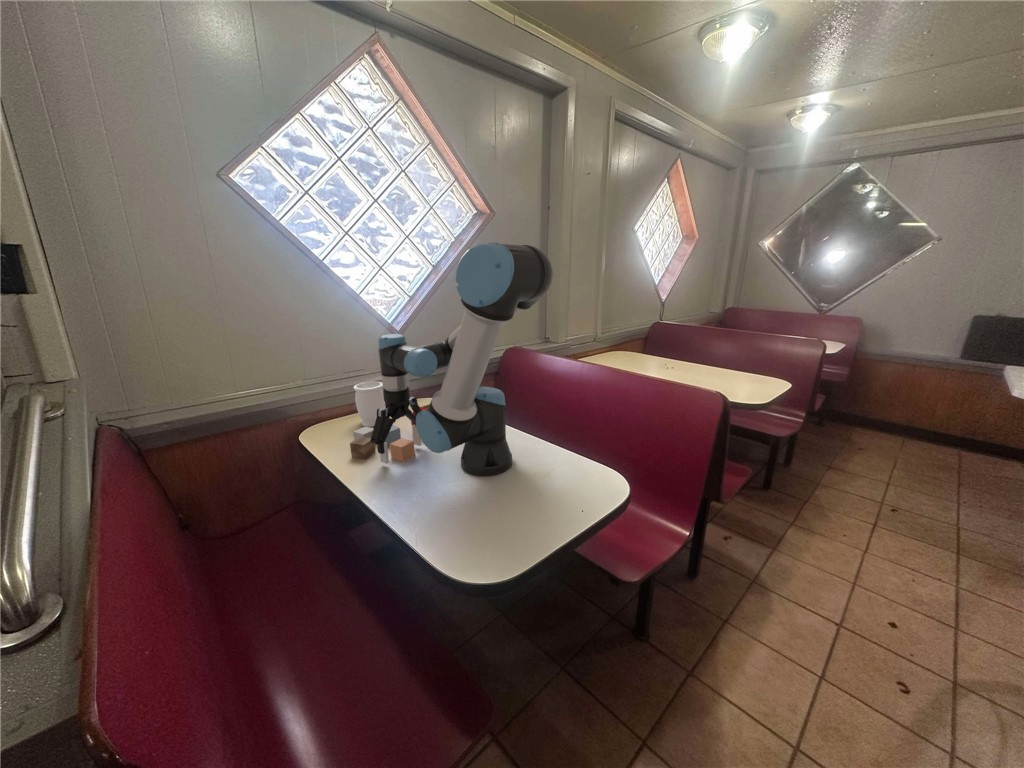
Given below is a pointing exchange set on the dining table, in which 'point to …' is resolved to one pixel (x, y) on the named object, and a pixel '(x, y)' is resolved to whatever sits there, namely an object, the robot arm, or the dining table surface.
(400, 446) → the terracotta cube
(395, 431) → the slate cube
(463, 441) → the robot arm
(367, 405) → the jar
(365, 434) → the grey cube
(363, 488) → the dining table surface
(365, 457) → the walnut cube
